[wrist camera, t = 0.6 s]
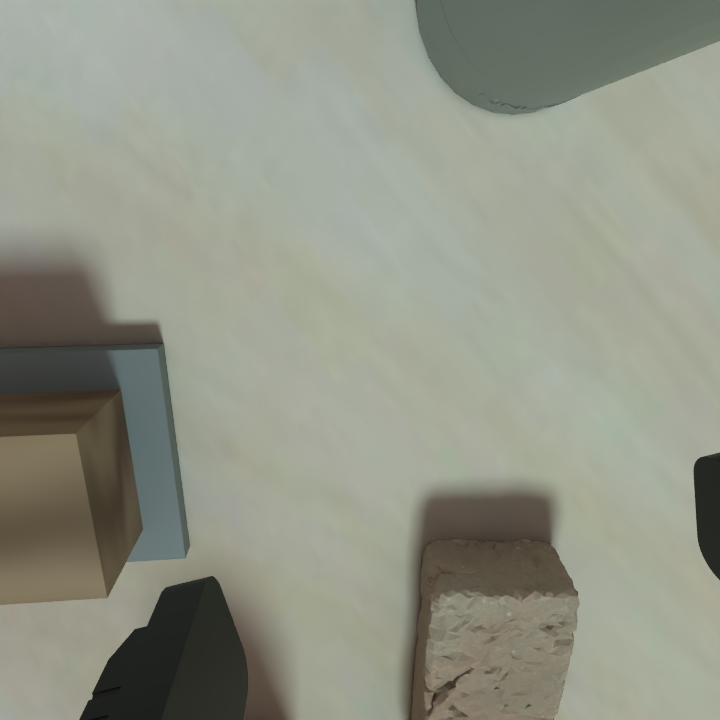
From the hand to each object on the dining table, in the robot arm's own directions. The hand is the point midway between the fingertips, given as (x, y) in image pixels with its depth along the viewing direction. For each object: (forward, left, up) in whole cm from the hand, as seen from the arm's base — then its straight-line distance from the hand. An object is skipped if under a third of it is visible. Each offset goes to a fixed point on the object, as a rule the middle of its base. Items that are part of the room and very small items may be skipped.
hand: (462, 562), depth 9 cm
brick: (+22, +7, -19) cm, 30 cm away
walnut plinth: (+7, -16, -19) cm, 26 cm away
